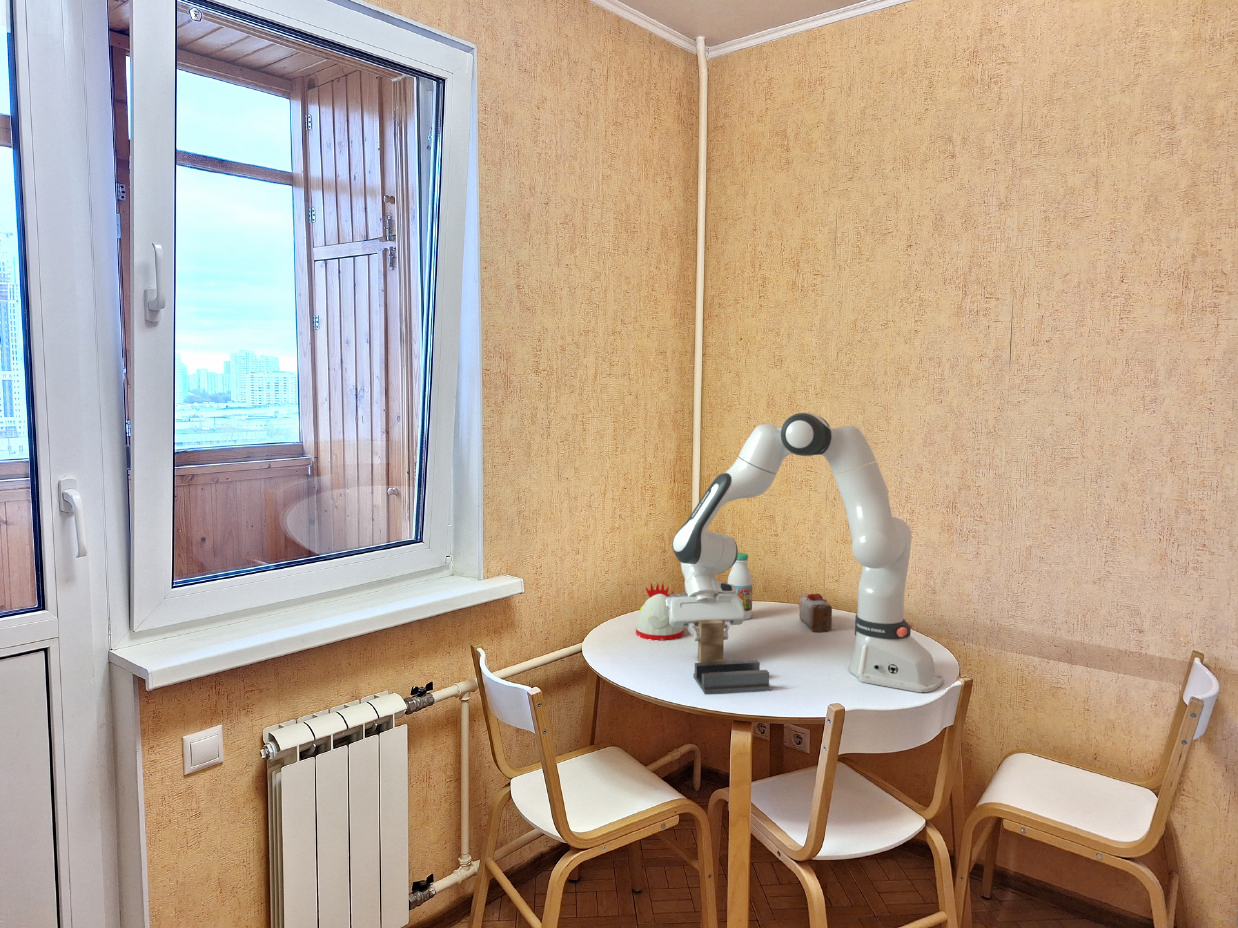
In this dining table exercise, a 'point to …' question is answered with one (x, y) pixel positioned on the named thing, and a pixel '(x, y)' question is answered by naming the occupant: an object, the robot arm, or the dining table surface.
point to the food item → (815, 612)
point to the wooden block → (710, 641)
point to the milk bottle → (742, 582)
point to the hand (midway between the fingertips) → (711, 639)
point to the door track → (731, 677)
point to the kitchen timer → (656, 617)
